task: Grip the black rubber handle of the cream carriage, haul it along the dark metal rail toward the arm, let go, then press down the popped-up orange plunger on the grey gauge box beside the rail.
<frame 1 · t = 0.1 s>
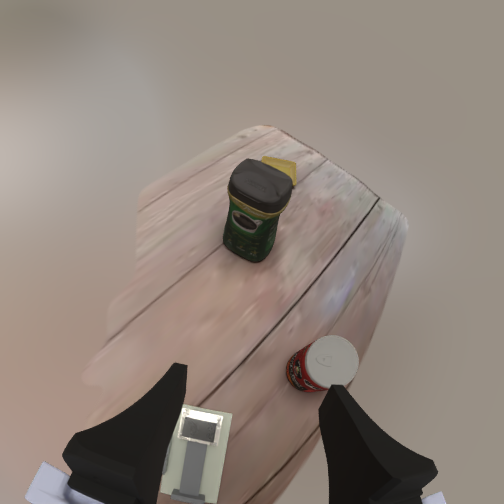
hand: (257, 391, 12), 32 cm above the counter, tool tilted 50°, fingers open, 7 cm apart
carriage: (199, 427, 33), point 4 cm above the counter, slide at 0.0 cm
track board: (195, 455, 34), on the counter
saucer: (276, 176, 66), on the counter
coffee jar: (247, 242, 55), on the counter
canned food: (307, 371, 44), on the counter
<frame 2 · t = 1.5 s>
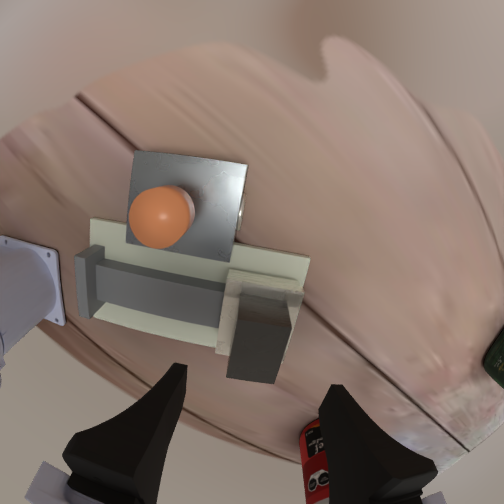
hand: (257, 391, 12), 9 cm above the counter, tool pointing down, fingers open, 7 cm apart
plunger: (162, 215, 13), point 6 cm above the counter, slide at 2.0 cm
carriage: (257, 329, 18), point 4 cm above the counter, slide at 0.0 cm
gauge box: (191, 199, 19), on the counter
track board: (187, 290, 21), on the counter
canned food: (330, 430, 27), on the counter
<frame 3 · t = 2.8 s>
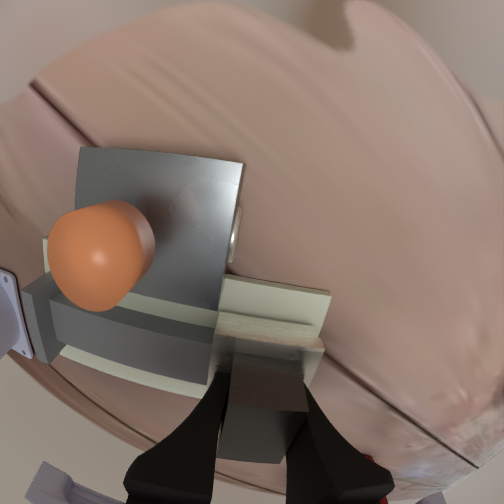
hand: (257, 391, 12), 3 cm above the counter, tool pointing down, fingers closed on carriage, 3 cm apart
plunger: (101, 252, 7), point 6 cm above the counter, slide at 2.0 cm
carriage: (257, 395, 12), point 4 cm above the counter, slide at 0.0 cm, touching gripper
gauge box: (165, 214, 13), on the counter
track board: (165, 333, 15), on the counter
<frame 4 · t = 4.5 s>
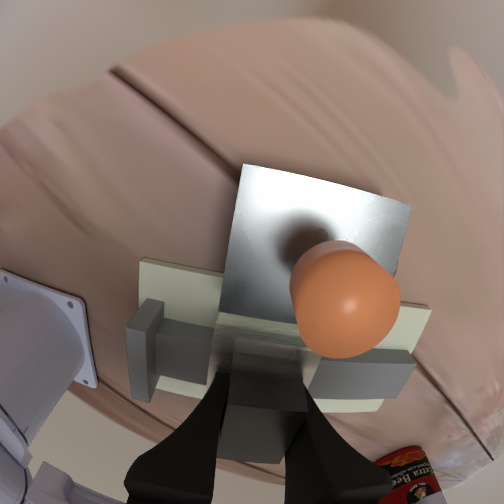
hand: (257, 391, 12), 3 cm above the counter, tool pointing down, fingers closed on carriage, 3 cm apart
plunger: (341, 297, 7), point 6 cm above the counter, slide at 2.0 cm
carriage: (257, 395, 12), point 4 cm above the counter, slide at 7.0 cm, touching gripper
gauge box: (305, 239, 13), on the counter
track board: (283, 354, 16), on the counter
canned food: (392, 462, 21), on the counter
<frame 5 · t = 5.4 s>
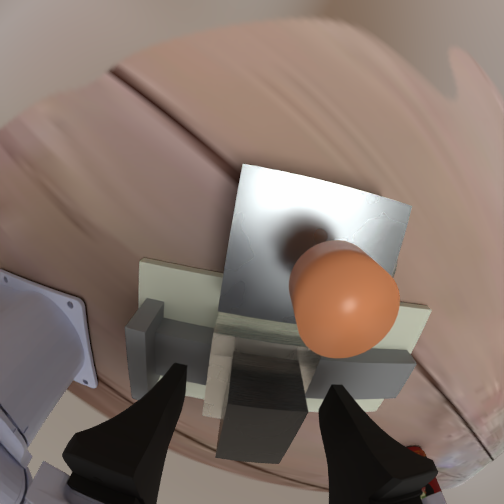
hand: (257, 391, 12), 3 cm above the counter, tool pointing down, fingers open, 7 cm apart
plunger: (341, 297, 7), point 6 cm above the counter, slide at 2.0 cm
carriage: (257, 395, 12), point 4 cm above the counter, slide at 7.0 cm
gauge box: (305, 239, 13), on the counter
track board: (282, 354, 16), on the counter
canned food: (392, 462, 21), on the counter
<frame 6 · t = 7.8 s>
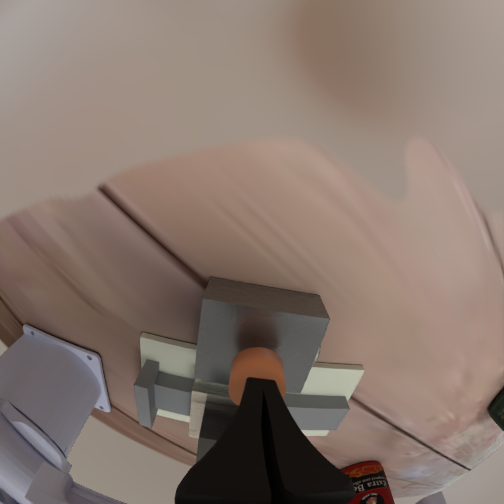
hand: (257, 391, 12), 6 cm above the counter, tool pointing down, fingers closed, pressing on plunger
plunger: (257, 379, 13), point 5 cm above the counter, slide at 0.9 cm, touching gripper
carriage: (223, 427, 17), point 4 cm above the counter, slide at 7.0 cm
gauge box: (257, 326, 18), on the counter
track board: (246, 395, 20), on the counter
canned food: (354, 472, 26), on the counter
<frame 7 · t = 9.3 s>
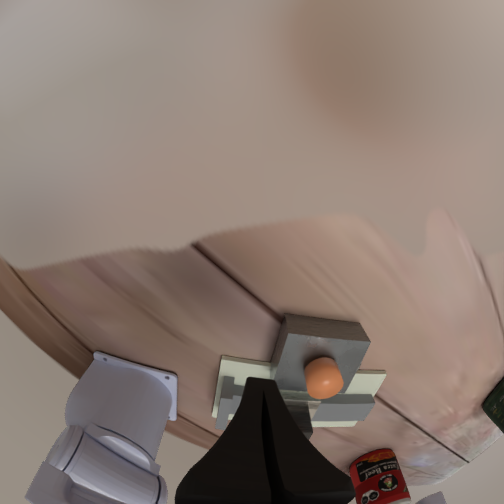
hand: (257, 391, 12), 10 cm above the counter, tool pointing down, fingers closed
plunger: (323, 378, 19), point 4 cm above the counter, slide at 0.1 cm
carriage: (286, 422, 22), point 4 cm above the counter, slide at 7.0 cm
gauge box: (314, 346, 24), on the counter
track board: (298, 397, 26), on the counter
coffee jar: (500, 388, 28), on the counter
canned food: (371, 459, 31), on the counter
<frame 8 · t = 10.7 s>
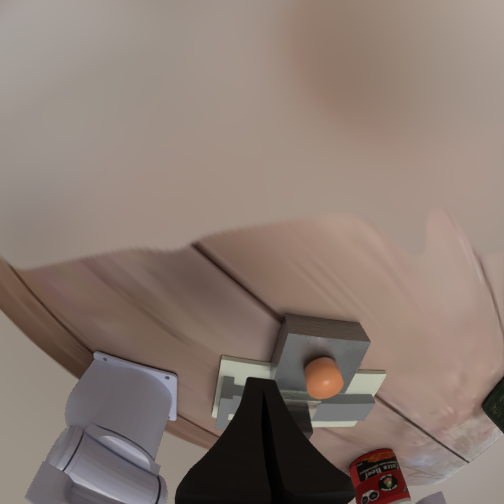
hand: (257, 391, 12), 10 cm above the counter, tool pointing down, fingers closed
plunger: (323, 378, 19), point 4 cm above the counter, slide at 0.1 cm
carriage: (286, 422, 22), point 4 cm above the counter, slide at 7.0 cm
gauge box: (314, 346, 24), on the counter
track board: (298, 397, 26), on the counter
coffee jar: (500, 388, 28), on the counter
canned food: (371, 459, 31), on the counter
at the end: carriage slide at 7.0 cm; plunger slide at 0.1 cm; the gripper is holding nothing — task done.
